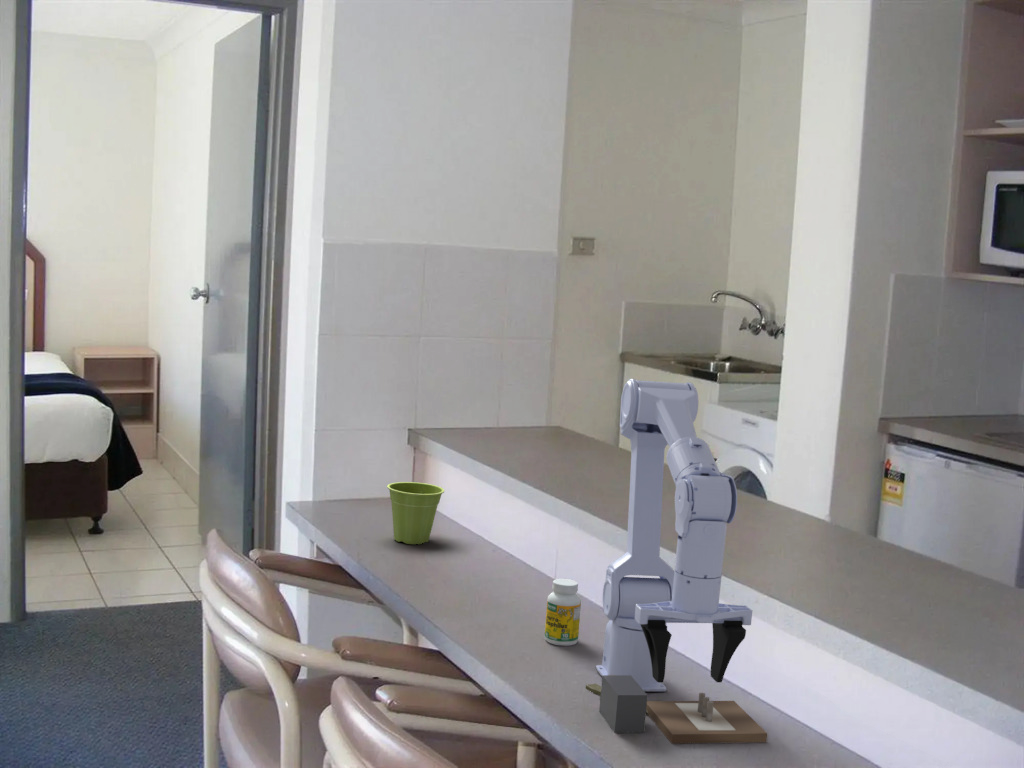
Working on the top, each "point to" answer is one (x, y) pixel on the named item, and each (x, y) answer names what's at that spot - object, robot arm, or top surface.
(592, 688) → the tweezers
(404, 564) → the top surface
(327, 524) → the top surface
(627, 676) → the block
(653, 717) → the pin board
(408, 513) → the plant pot
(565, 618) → the supplement bottle
